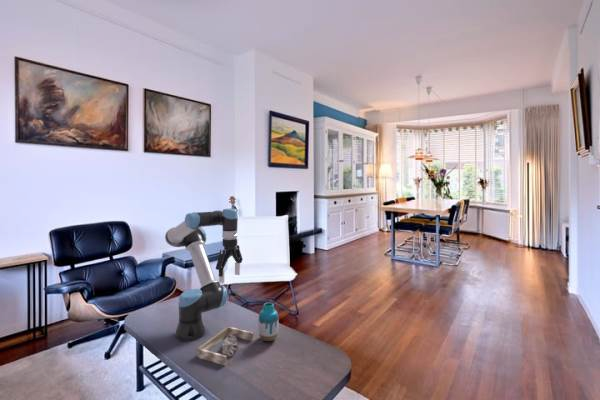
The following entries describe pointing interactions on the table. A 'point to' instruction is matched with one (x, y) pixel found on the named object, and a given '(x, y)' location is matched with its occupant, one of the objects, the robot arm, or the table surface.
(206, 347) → the u-shaped wooden frame
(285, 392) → the table surface
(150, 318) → the table surface
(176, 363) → the table surface
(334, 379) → the table surface
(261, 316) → the vase
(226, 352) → the mineral rock
